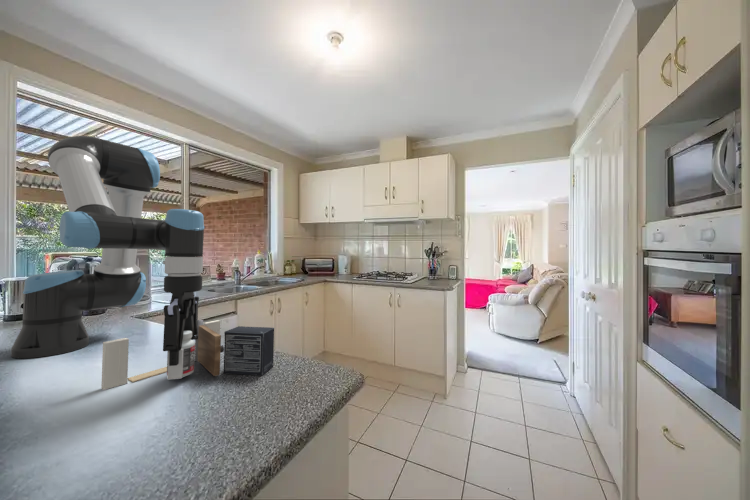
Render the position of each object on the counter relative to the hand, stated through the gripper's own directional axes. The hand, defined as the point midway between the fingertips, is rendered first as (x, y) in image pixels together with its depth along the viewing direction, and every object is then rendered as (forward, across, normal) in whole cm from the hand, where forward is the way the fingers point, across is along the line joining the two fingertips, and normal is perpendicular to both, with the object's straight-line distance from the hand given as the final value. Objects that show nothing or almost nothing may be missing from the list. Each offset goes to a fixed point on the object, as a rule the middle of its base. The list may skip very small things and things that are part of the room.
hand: (180, 372), depth 66 cm
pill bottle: (+1, 0, 0) cm, 1 cm away
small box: (+2, -2, +15) cm, 15 cm away
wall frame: (+1, -6, -5) cm, 8 cm away
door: (+1, -5, +5) cm, 7 cm away
